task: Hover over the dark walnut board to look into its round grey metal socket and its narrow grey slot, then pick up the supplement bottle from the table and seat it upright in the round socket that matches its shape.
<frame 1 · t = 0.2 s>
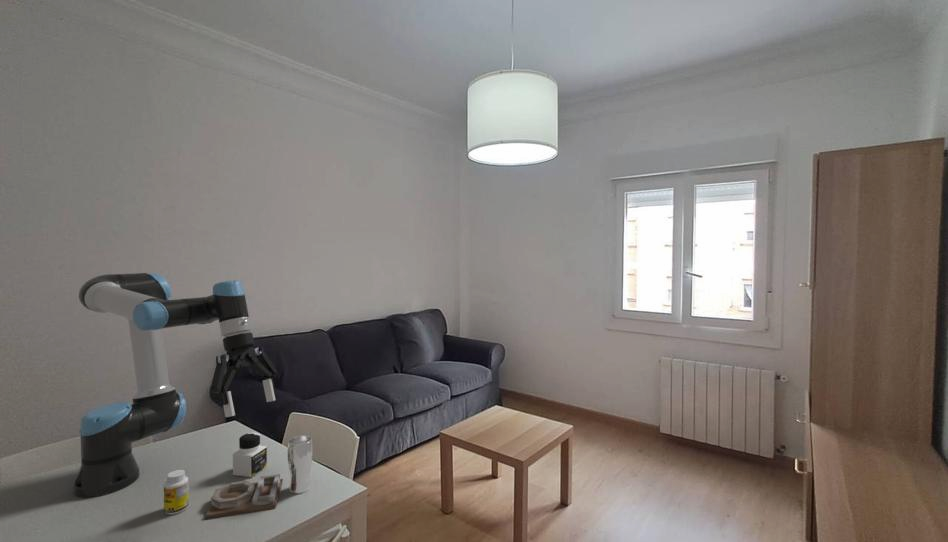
hand: (251, 408, 117), 27 cm above the table, tool tilted 15°, fingers open, 13 cm apart
socket board: (247, 499, 121), on the table
supplement bottle: (176, 510, 115), on the table
medicine bottle: (250, 471, 136), on the table
beer glass: (300, 488, 126), on the table
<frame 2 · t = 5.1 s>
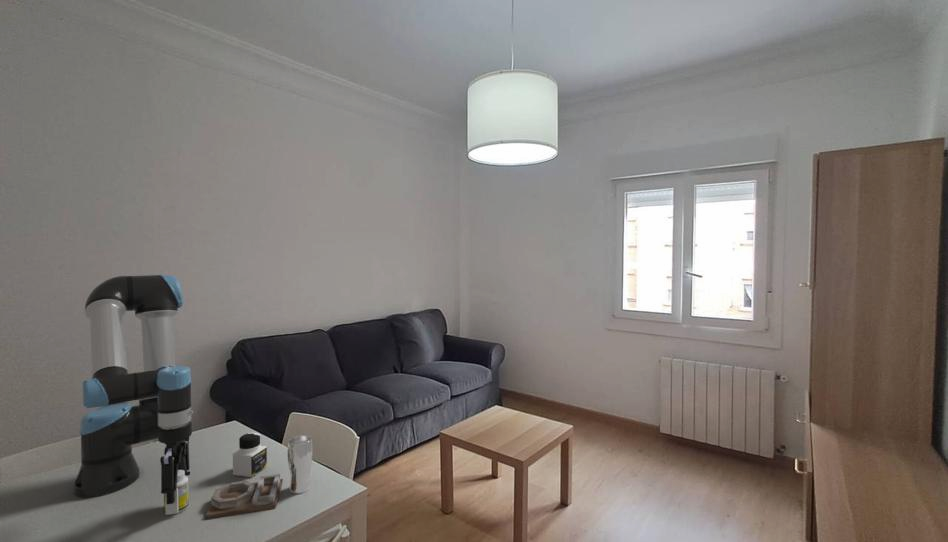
hand: (176, 506, 115), 1 cm above the table, tool pointing down, fingers closed on supplement bottle, 6 cm apart
supplement bottle: (176, 510, 115), on the table, touching gripper
everything else where it was.
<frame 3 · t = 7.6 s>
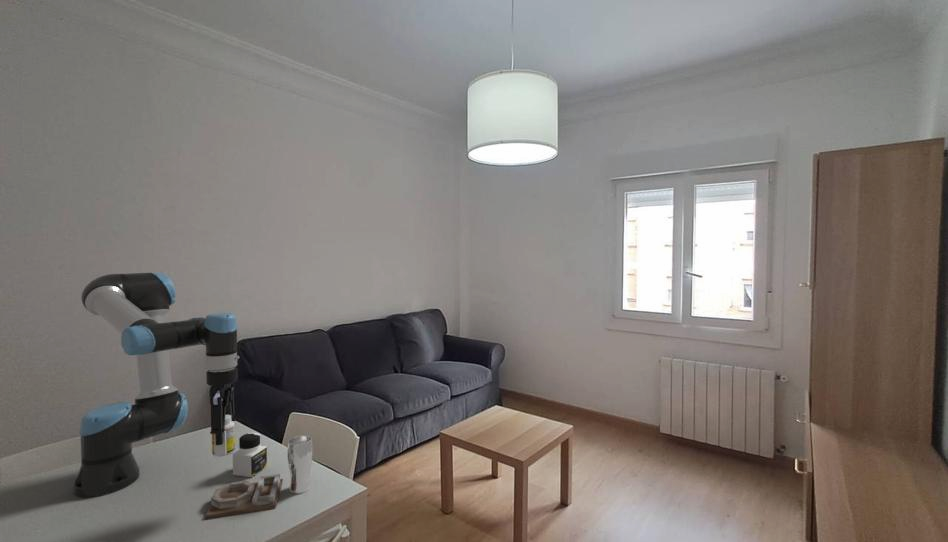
hand: (224, 449, 118), 15 cm above the table, tool pointing down, fingers closed on supplement bottle, 6 cm apart
supplement bottle: (223, 453, 118), point 14 cm above the table, touching gripper
everything else where it was.
when the fingers open (4 cm above the table, at t = 10.1 s): supplement bottle drops 2 cm, resting on socket board.
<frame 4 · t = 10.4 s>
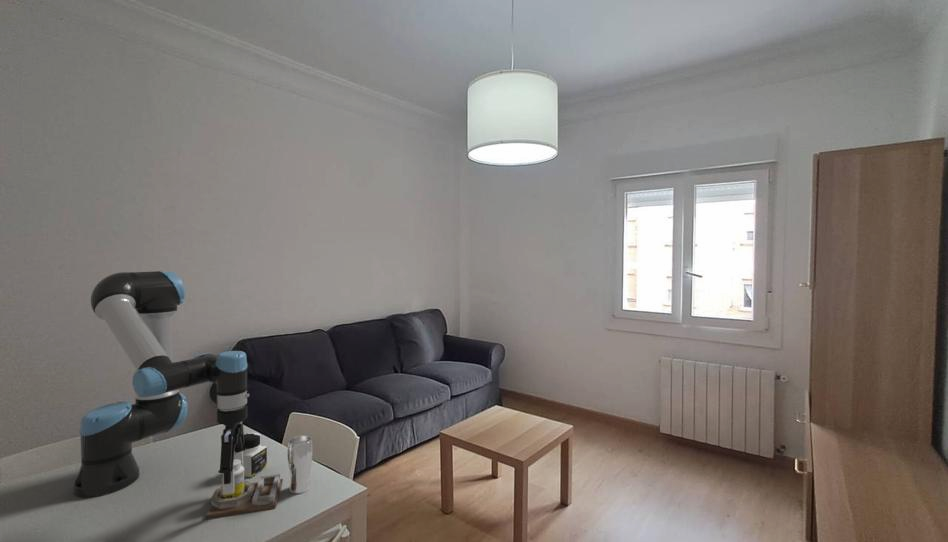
hand: (233, 483, 119), 5 cm above the table, tool pointing down, fingers open, 10 cm apart
supplement bottle: (233, 498, 119), point 1 cm above the table, touching socket board
everything else where it was.
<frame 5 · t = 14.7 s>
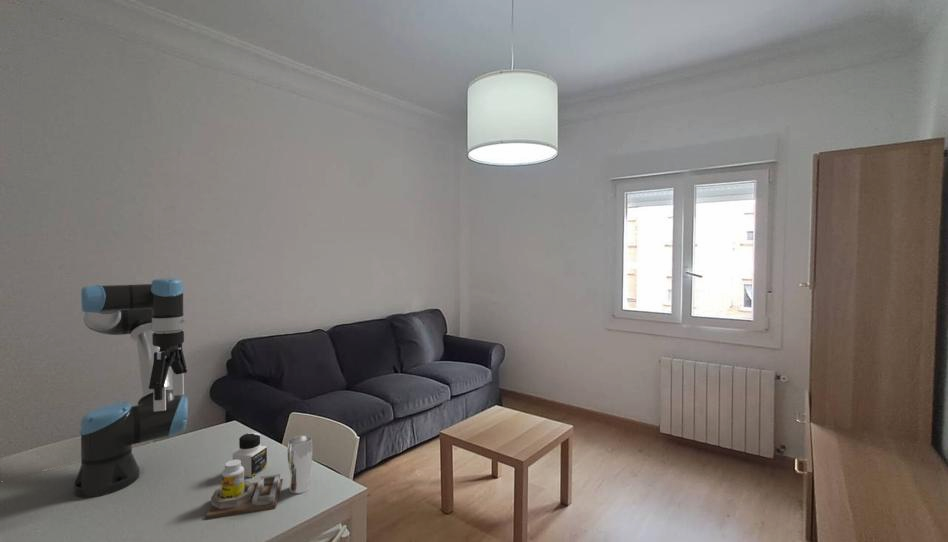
hand: (169, 402, 123), 27 cm above the table, tool pointing down, fingers open, 13 cm apart
nothing on the table moved.
at the end: supplement bottle 0.1 cm from the target spot on the socket board, point 0.8 cm above the socket board's base; supplement bottle tilted 0°; the gripper is holding nothing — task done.
